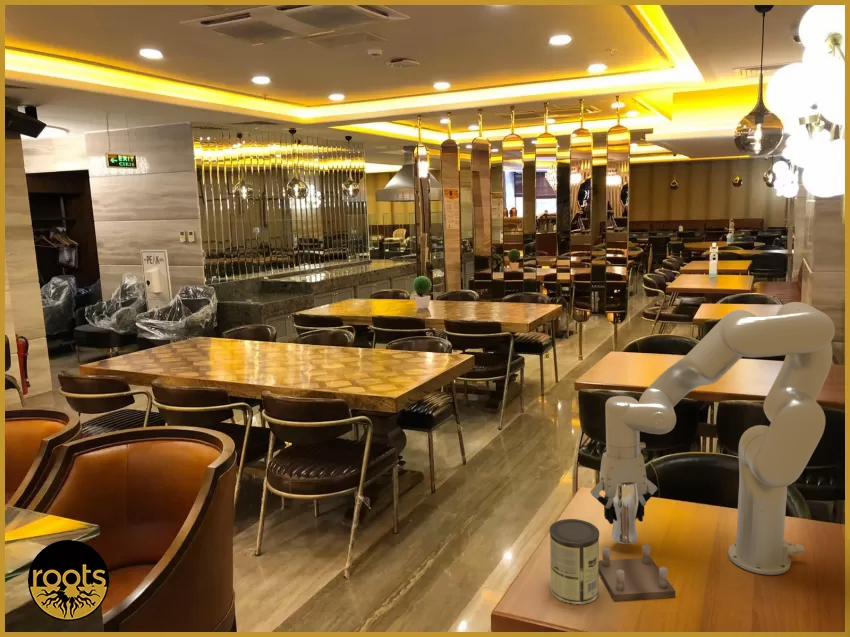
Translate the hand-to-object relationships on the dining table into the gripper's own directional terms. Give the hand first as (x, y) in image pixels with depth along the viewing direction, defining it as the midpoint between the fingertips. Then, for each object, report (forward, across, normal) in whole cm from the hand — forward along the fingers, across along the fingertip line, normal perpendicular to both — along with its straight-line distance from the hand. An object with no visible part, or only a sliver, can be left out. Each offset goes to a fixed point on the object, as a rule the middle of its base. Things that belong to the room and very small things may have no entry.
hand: (624, 519), depth 153 cm
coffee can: (+7, +17, +16) cm, 24 cm away
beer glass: (+5, 0, 0) cm, 5 cm away
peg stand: (+7, +3, +14) cm, 16 cm away
